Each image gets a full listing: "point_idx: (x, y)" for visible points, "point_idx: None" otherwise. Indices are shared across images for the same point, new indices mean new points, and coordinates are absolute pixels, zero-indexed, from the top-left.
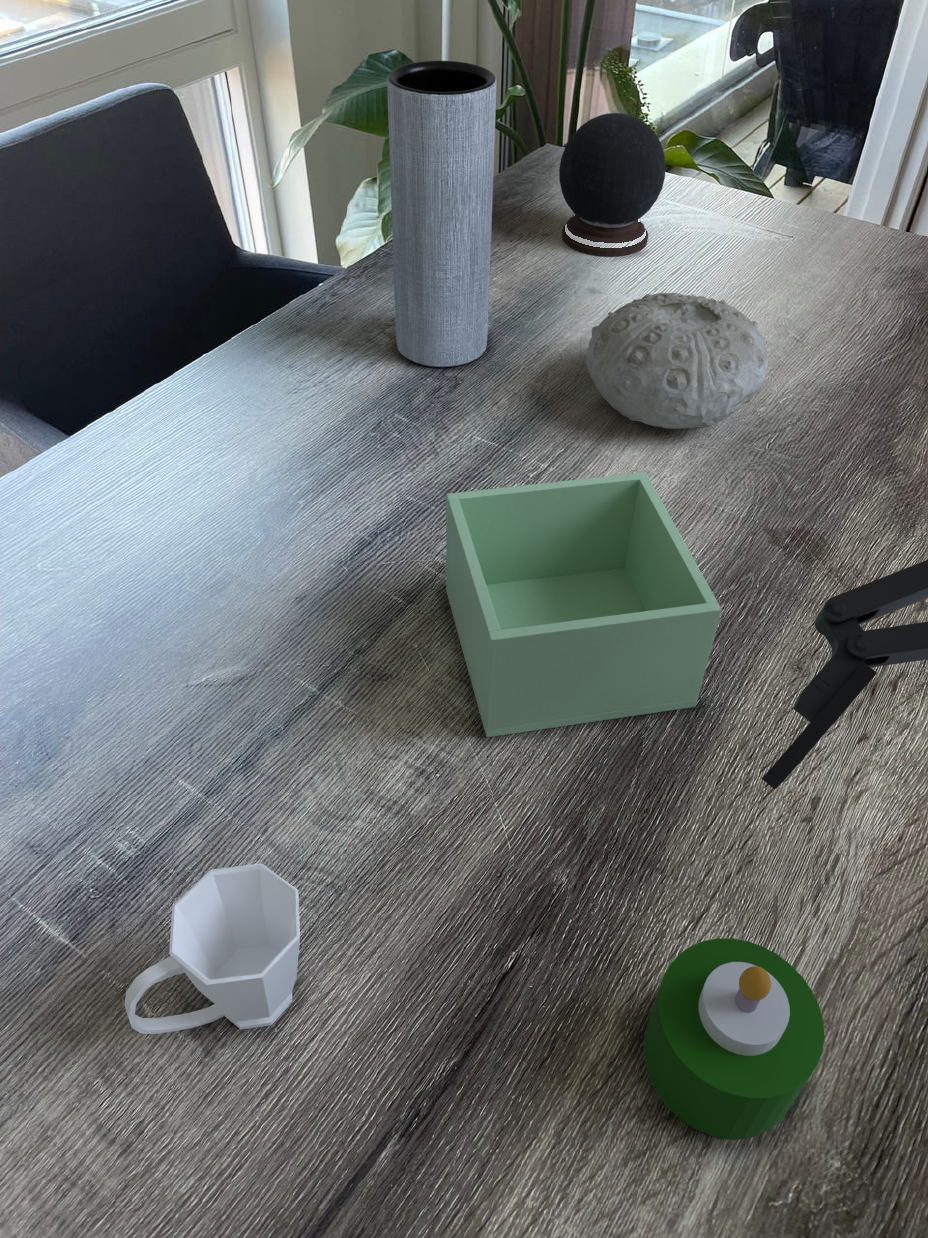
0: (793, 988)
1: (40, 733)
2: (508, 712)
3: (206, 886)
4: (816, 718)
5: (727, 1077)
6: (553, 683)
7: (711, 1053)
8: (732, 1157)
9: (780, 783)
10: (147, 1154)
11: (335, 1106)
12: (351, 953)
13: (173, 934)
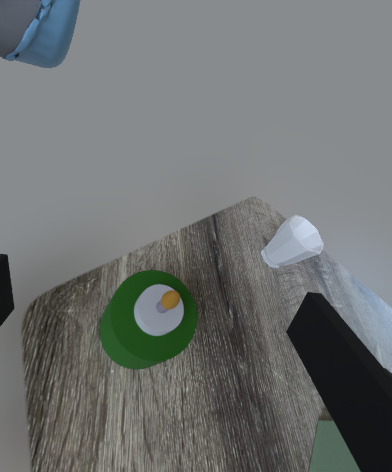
0: (138, 344)
1: (368, 294)
2: (333, 433)
3: (319, 241)
4: (367, 349)
5: (148, 277)
6: (349, 467)
7: (160, 284)
8: (117, 287)
9: (301, 304)
10: (252, 213)
11: (233, 240)
12: (265, 282)
13: (310, 223)
